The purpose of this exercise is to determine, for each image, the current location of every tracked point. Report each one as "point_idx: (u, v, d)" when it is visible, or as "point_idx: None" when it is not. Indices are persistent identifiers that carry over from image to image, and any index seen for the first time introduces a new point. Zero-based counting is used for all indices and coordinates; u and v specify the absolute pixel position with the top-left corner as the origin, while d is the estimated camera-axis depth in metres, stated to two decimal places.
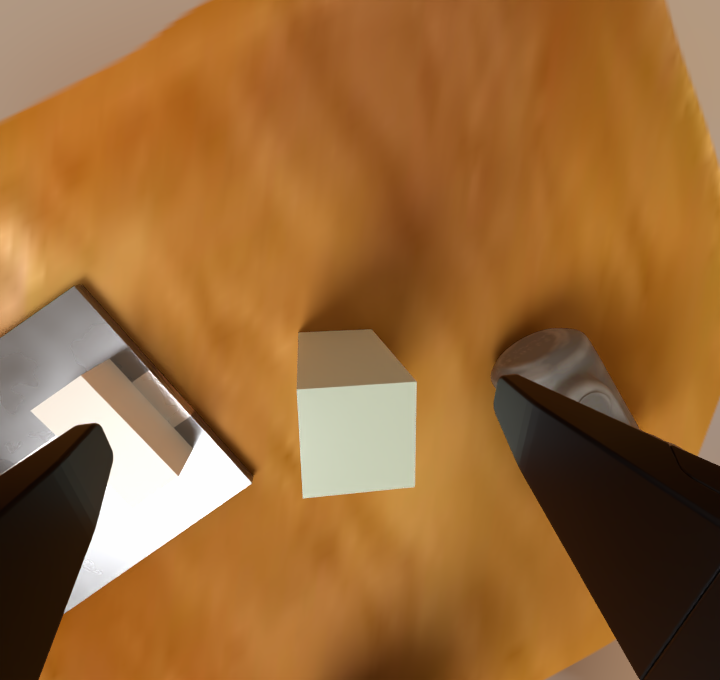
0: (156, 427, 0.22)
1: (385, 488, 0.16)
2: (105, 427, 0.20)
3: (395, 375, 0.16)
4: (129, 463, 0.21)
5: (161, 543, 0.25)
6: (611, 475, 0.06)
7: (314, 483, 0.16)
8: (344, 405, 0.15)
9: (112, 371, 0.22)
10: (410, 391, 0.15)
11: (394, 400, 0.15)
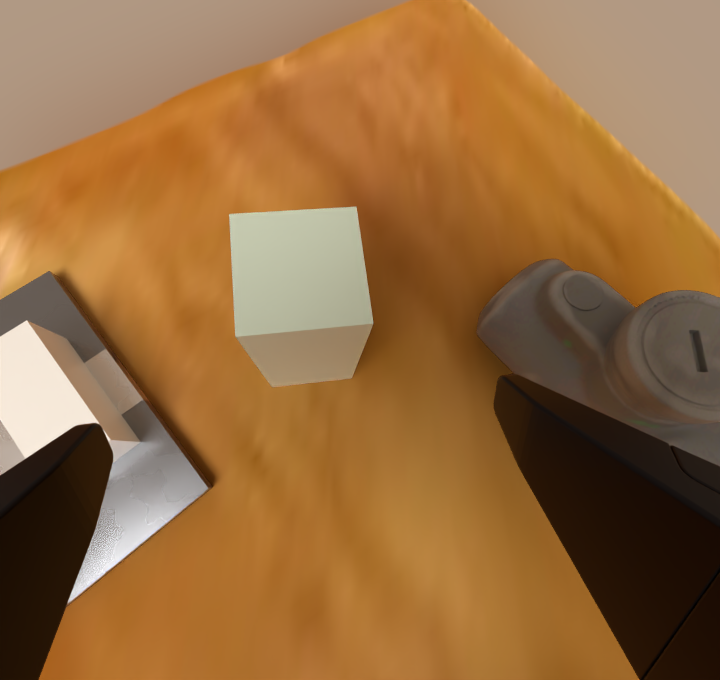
0: (99, 399, 0.19)
1: (337, 327, 0.13)
2: (38, 377, 0.18)
3: None
4: (55, 423, 0.17)
5: (78, 591, 0.18)
6: (611, 475, 0.06)
7: (249, 318, 0.13)
8: (281, 230, 0.14)
9: (65, 344, 0.20)
10: (351, 216, 0.14)
11: (335, 225, 0.14)
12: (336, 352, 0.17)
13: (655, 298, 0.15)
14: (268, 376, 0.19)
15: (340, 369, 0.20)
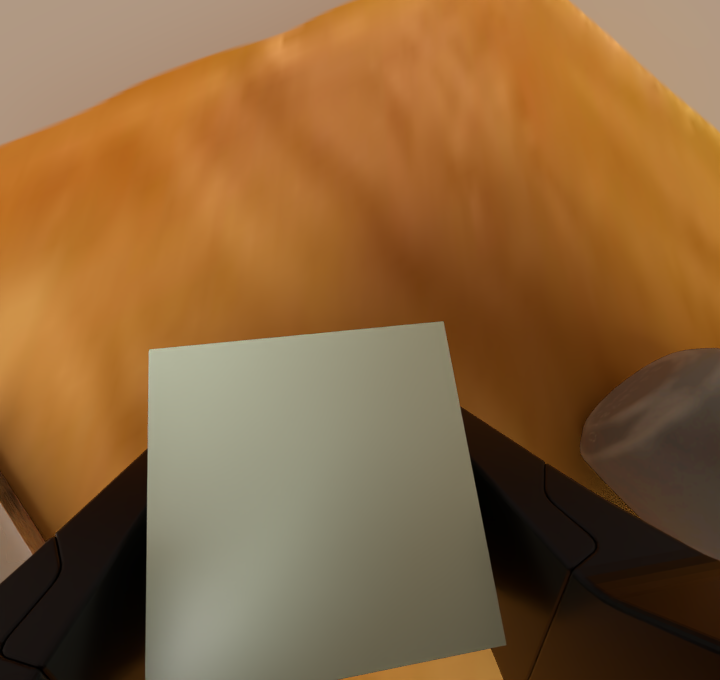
0: None
1: (415, 659, 0.05)
2: None
3: None
4: None
5: None
6: (482, 495, 0.06)
7: (187, 652, 0.05)
8: (273, 387, 0.06)
9: None
10: (433, 345, 0.06)
11: (397, 371, 0.06)
12: None
13: None
14: None
15: None
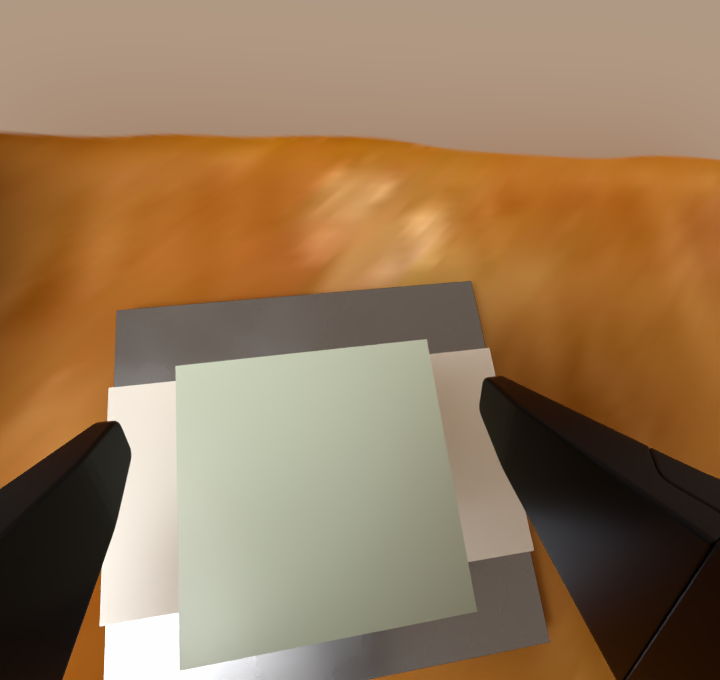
0: None
1: (401, 624, 0.06)
2: (480, 423, 0.14)
3: None
4: (481, 490, 0.14)
5: (372, 675, 0.14)
6: (590, 478, 0.06)
7: (212, 618, 0.06)
8: (281, 397, 0.07)
9: None
10: (418, 360, 0.07)
11: (386, 382, 0.07)
12: None
13: None
14: None
15: None
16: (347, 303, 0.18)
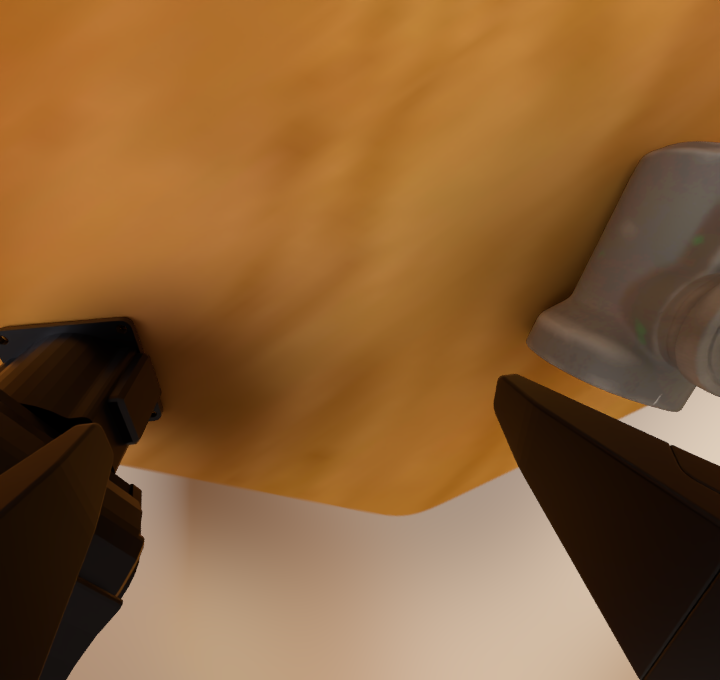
0: None
1: None
2: None
3: None
4: None
5: None
6: (611, 475, 0.06)
7: None
8: None
9: None
10: None
11: None
12: None
13: None
14: None
15: None
16: None
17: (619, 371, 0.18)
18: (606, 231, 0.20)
